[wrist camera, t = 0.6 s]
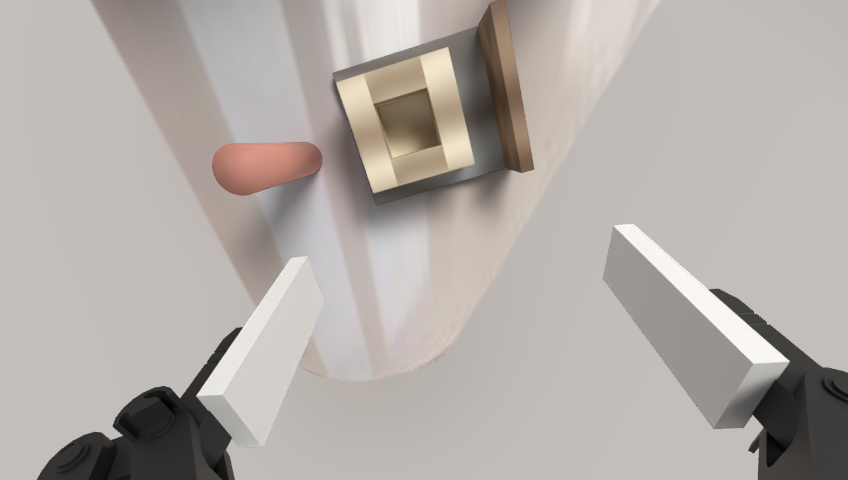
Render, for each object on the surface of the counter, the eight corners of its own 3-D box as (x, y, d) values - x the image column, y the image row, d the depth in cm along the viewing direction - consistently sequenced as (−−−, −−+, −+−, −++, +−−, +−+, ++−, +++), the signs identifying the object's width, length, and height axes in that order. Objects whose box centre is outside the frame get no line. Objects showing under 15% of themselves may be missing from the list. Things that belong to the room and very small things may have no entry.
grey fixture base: (334, 75, 33) (315, 59, 26) (487, 26, 32) (504, -2, 25) (377, 203, 37) (369, 216, 31) (513, 164, 36) (534, 169, 30)
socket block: (348, 90, 32) (336, 82, 27) (443, 60, 31) (447, 46, 27) (379, 186, 35) (373, 193, 30) (466, 160, 34) (474, 163, 30)
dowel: (285, 147, 35) (202, 152, 21) (315, 138, 34) (250, 137, 21) (297, 178, 36) (226, 201, 22) (327, 169, 35) (272, 187, 22)
